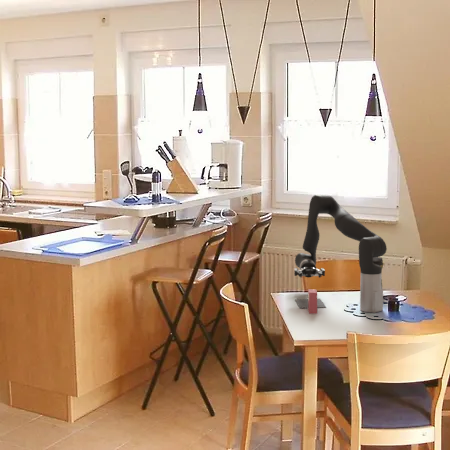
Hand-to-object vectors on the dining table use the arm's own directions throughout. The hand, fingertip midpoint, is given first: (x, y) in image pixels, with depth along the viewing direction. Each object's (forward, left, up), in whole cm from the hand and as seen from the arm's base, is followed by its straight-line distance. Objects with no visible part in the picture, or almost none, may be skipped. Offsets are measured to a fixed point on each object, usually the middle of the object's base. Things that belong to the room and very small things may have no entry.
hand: (310, 275), depth 353 cm
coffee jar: (-7, -38, -14) cm, 41 cm away
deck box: (-8, +8, -14) cm, 18 cm away
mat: (+2, -2, -14) cm, 14 cm away
